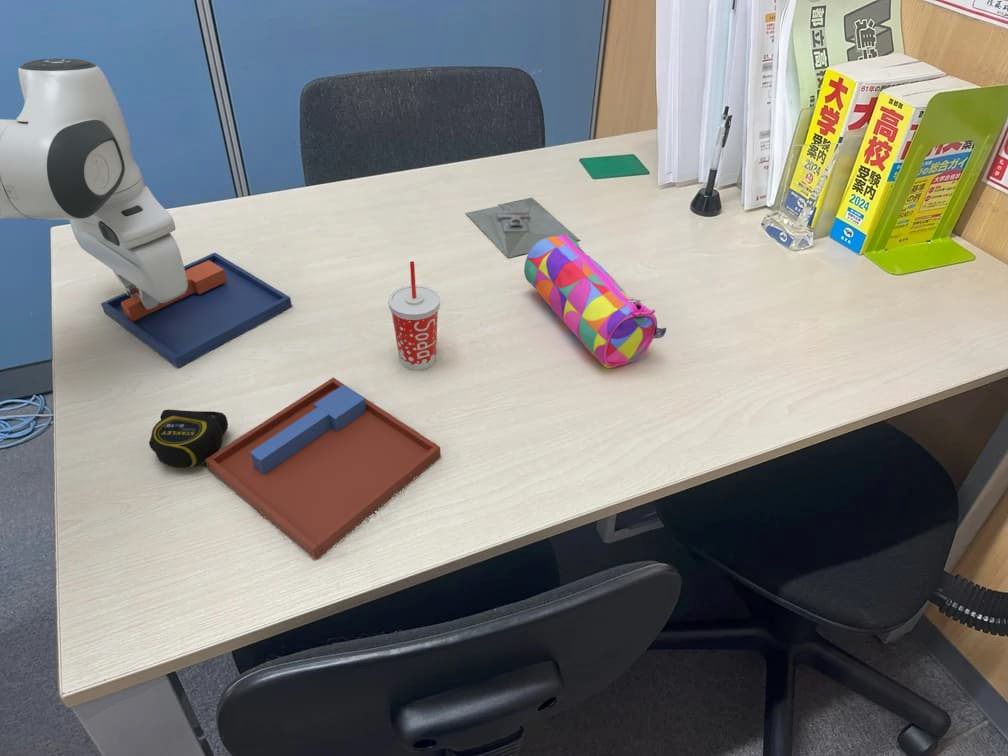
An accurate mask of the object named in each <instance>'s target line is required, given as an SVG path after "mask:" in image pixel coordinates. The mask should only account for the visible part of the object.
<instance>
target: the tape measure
mask: <svg viewBox="0 0 1008 756" xmlns="http://www.w3.org/2000/svg"><path fill="white" fill-rule="evenodd" d="M159 416H160V420H159V421H158V422H157V423H156V424H154V426H153V428H152V431H151V436H150V439H149V441H148V444H149V448H150V449H151V450H152V452H154V453H155V455H156V457H157V459H158V461H159V462H161V463H162V464H163V465H165V466H167V467H170V468H175V469H188V468H192V467H193V468H195V467H198V466H200V465H202V464H206V461H205V459H207V458H208V457H210V456H211V455H213V454H214V453H216V452H217V451H219V450H221V447H222V444H223V437H224V435H225V434H226V432H227V431H228V428H229V423H228V417H227V415H226V414H224V412H220V411H211V410H208V411H204V410H203V411H201V410H200V411H199V410H198V411H197V410H183V409H182V410H181V409H164V410H163V411H162V412H161V414H160V415H159Z"/></svg>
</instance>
